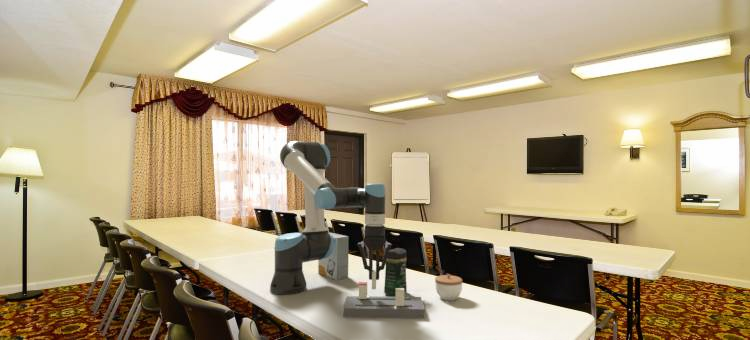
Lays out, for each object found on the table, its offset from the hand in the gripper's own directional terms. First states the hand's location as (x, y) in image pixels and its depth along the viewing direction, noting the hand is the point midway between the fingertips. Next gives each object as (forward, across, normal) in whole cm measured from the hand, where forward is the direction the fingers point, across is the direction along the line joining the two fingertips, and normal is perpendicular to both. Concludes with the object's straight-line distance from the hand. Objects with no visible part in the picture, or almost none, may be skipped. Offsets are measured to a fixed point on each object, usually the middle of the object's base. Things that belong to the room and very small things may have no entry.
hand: (373, 288), depth 136 cm
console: (+7, +4, -4) cm, 9 cm away
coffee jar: (+7, +9, +16) cm, 20 cm away
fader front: (+3, +9, -7) cm, 12 cm away
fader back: (+4, -4, 0) cm, 5 cm away
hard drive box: (+8, -21, +43) cm, 49 cm away
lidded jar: (+7, +30, +11) cm, 33 cm away
